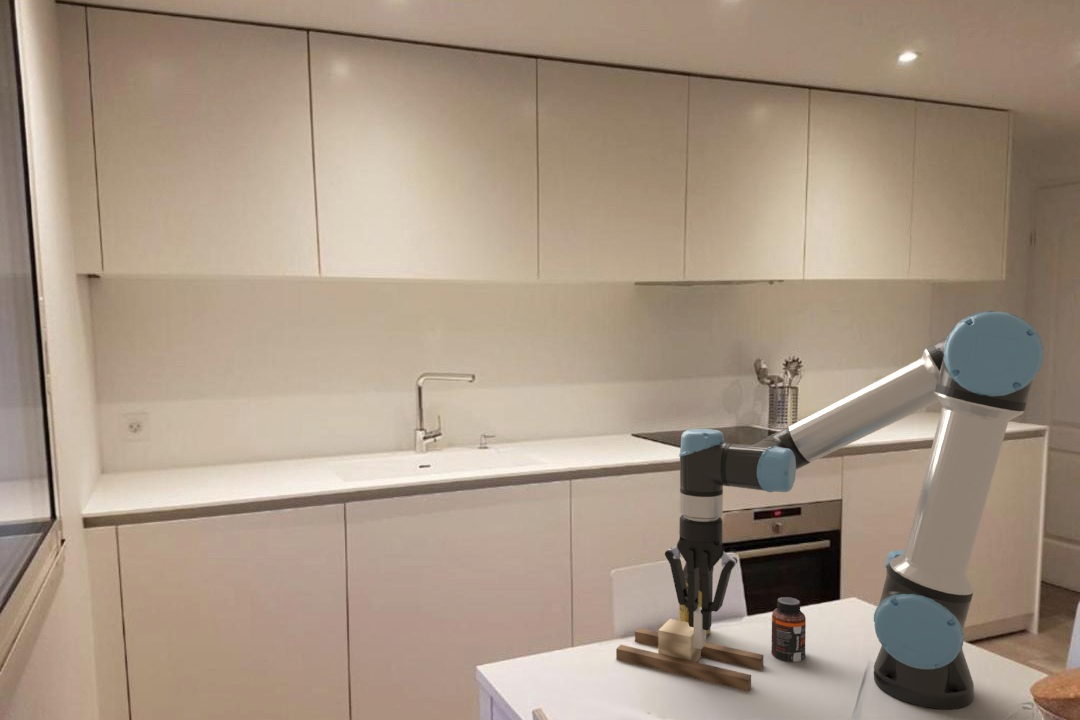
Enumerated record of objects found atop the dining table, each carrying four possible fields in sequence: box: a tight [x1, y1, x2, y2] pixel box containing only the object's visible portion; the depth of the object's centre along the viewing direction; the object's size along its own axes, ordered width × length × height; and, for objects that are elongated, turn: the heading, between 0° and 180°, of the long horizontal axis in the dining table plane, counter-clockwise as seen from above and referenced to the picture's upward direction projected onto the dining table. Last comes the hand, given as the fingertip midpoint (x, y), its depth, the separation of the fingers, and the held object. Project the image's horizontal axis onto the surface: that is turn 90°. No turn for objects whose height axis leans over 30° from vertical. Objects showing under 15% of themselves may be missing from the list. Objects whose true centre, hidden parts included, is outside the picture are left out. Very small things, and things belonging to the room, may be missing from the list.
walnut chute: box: [615, 627, 764, 692], centre depth 131 cm, size 24×12×3 cm, turn 60°
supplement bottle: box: [771, 596, 807, 663], centre depth 134 cm, size 6×6×11 cm
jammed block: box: [657, 618, 702, 662], centre depth 132 cm, size 6×6×6 cm
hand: (699, 645), depth 130 cm, fingers closed
